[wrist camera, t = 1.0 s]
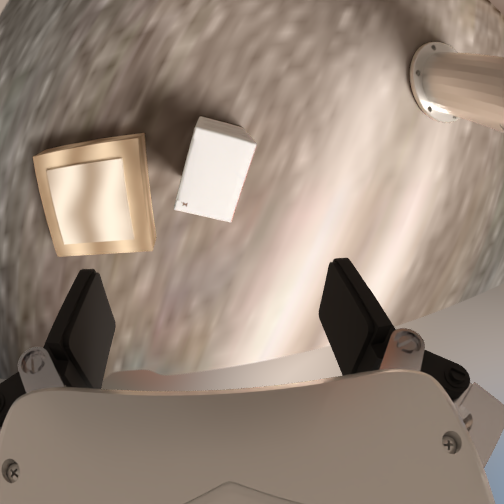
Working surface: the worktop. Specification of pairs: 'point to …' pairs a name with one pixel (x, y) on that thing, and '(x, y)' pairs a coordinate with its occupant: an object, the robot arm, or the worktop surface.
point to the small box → (215, 169)
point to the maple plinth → (97, 196)
